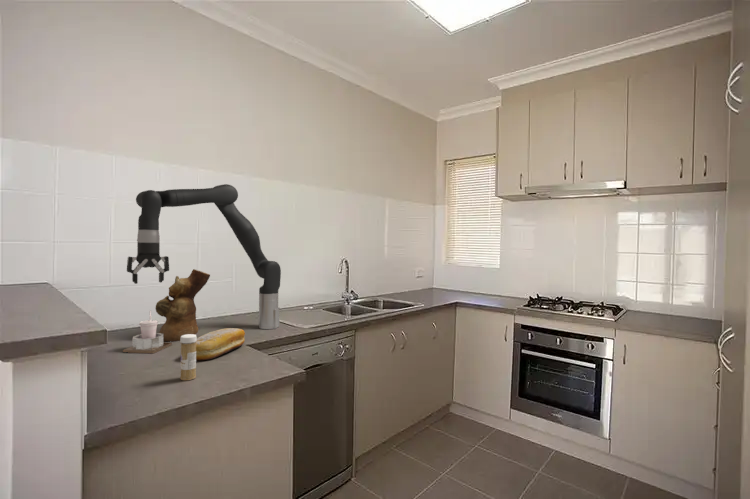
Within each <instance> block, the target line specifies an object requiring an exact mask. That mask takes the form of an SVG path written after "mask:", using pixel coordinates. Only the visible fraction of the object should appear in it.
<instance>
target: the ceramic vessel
mask: <svg viewBox="0 0 750 499" xmlns="http://www.w3.org/2000/svg"><path fill="white" fill-rule="evenodd" d="M210 277H211V274H209V273H206V272H204V271H201V270H198V269H195V268H194V269H192V271H191V273H190V274H189V275H188V277H179V276H178V275H176V276H175V278H174V283H173V284H171V285H170V286H169V287H168V295H166V296H164V298H162V299H160V300H159V301H157V302H156V303H155V312H156V313H157V315H159V316H160V317H164V318H165V321H164V323H163V325H162V326H161V327H160V329H159V332H158V333H161V334H163V342H166V341H167V342H166V343H171V342H180V337H181V336H182V335H186V334H195V335H197V333H199V327H198V324H197V323H198V322H197V314H196V313H197V307H196V304H195V297H196V296H197V294H198V293H199V292H201V290H202V289H203V288H204V286H206V285H207V283H208V281H209V279H210ZM170 298H172V299H170ZM170 341H171V342H170Z"/></svg>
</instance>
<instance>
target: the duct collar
mask: <svg viewBox="0 0 750 499" xmlns="http://www.w3.org/2000/svg"><path fill="white" fill-rule="evenodd" d="M131 341H132V343H131V344H132V346H128V347H126V348H124V349H122V353H123V352H128V354H129V353H130V354H156V353H158V352H160V351H163V350H164V349H167V348H169V347H171V346H173V342H166V341H163V334H161V333H159V332H156V336H155V337H154V338H146V339H142V334H141V333H140V334H137V335H133V336H132V340H131Z"/></svg>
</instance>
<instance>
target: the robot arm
mask: <svg viewBox="0 0 750 499" xmlns="http://www.w3.org/2000/svg"><path fill="white" fill-rule="evenodd" d="M238 197H239V192H238V190H237V189H236V187H235V186H233V185H231V184H226V183H225V184H219V185H215V186H214V187H209V188H206V187H205V188H175V189H174V188H173V189H167V190H165V189H164V190H154V189H148V190H144V191H141V192H139V193H138V194H137V195H136V197H135V201H136V205H137V206H139V207H140V208H141V211H140V212H141V214H140V215H139V216H138V220H137V224H138V225H137V227H138V228H137V239H136V242H137V246H136V247H137V249H136V250H137V253H136V257H134V256H128V257H127V261H126V263H127V264H126V272H127V273H131V276H132V279H131V280H132V282H133V283H134V285H135V284H138V282H139V281H138V280H139V278H138V277H139V275H138V272H140V270H142V268H156V270H157V271H158V272H159V273H158V283H163V281H164V279H165V273H167V272H169V271H170V263H169V260H170V258H169V256H166V255H165V256H161V254H160V252H161V251H160V250H161V249H160V247H161V246H160V241H161V240H160V236H161V235H160V231H159V230H160V220H159V218H160V215H161V209H162V208H166V207H168V208H175V207H177V208H178V207H187V206H194V205H201V204H212V203H213V204H214V205H215V206H216V208H217V209H218V210H219V211H220V213H221V214H222V215H223V217H224V218H225V220H226V221H227V224H228V225H229V227H230V228H231V230H232V232H233V233H234V235H235V237H236V238H237V240H238V242H239V244H240V245H241V246H242V248H243V250H244V251H245V253H246V255H247V256H248V258H249V260H250V261H251V264H252V266H253V268H254V270H255V273H256V274H257V275H258V277H259V278H261V279H263V283H262V286H260V287H259V289H258V291H259V292H258V328H259V329H260V330H272V329H274V330H276V329H278V328H279V327H280V307H279V289H280V287H281V277H282V276H281V274H282V272H281V270H282V268H281V265H280V264H279V262H277V261H274V260H268V259H267V256H265V254H264V253H263V250H262V248H261V240H260V236H259V234H258V232H257V230H256V229H255V227H254V225H253V223H252V222H251V221H250V220H249V219H248V218H247V217H246V216H244V214H243V213H241V211H239V209H238V208H237V206H236V205H235V202H237V200H238ZM135 261H137V263H138V264H137V265H136V266H135V267H134V269H133V263H134V262H135ZM160 261H161V262H163V268H162V266H161V264H159V263H160Z"/></svg>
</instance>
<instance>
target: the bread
mask: <svg viewBox="0 0 750 499" xmlns="http://www.w3.org/2000/svg"><path fill="white" fill-rule="evenodd" d="M245 336H246V332H245V330H243V329H242V328H237V327H235V328H233V327H228V328H227V327H226V328H221V329H217V330H213V331H210V332H206V333H205V334H203V335H201V336H199V337H197V341H196V362H200V361H209V360H212V359H216V358H219V357H220V356H222V355H225V354H227V353H229V352H232V351H234V350H236V349H239V348H240V347H242V346H243V345H244V343H245Z"/></svg>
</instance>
